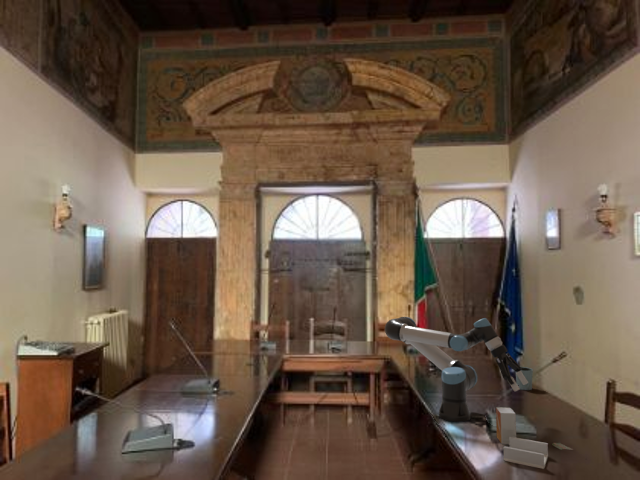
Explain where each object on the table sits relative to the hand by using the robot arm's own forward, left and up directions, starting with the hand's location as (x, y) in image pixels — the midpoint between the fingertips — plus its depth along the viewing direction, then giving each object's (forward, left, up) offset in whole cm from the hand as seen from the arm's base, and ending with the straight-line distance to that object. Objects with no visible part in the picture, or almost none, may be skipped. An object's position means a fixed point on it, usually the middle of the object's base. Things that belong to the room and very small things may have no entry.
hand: (521, 387), depth 222 cm
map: (+24, -30, -17) cm, 42 cm away
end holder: (+8, -46, -16) cm, 49 cm away
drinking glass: (-9, +67, -17) cm, 69 cm away
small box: (-2, -31, -17) cm, 35 cm away
